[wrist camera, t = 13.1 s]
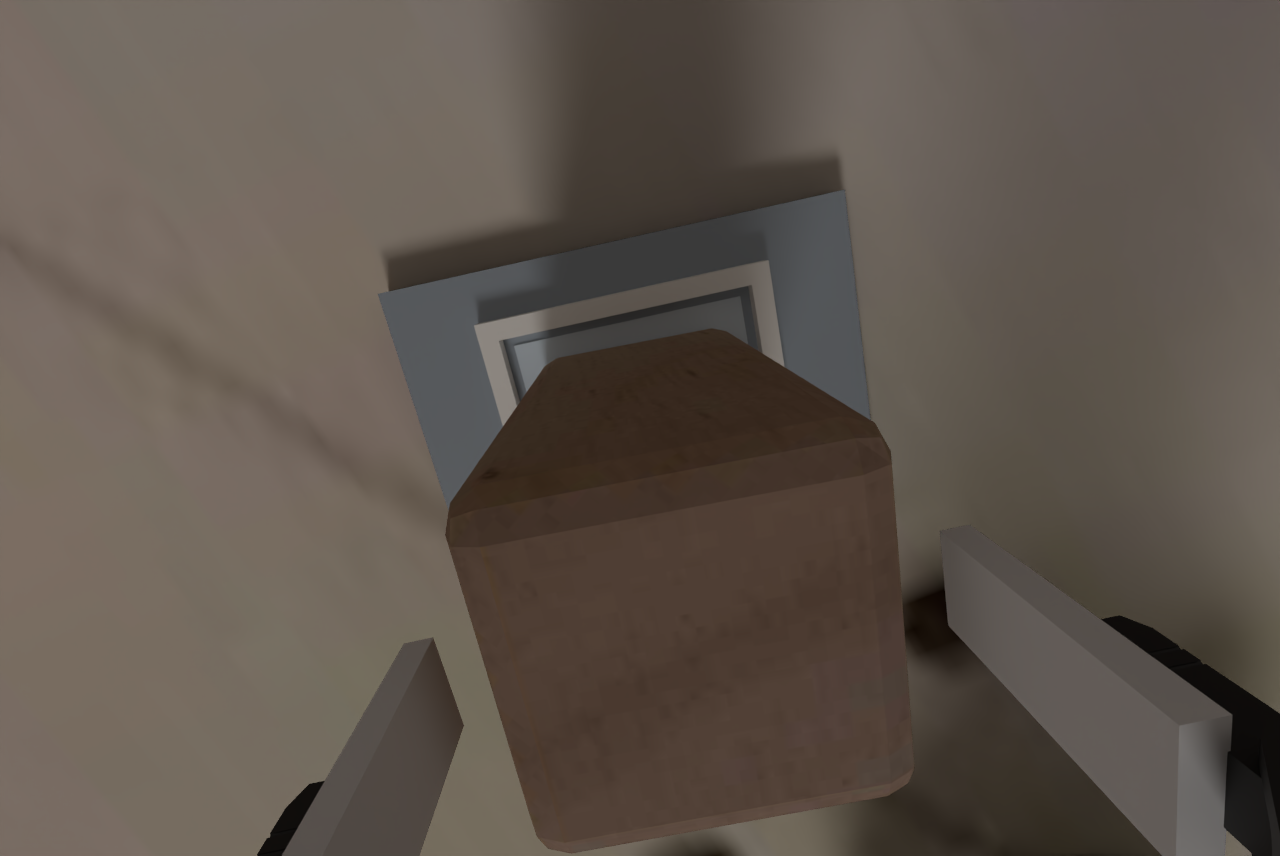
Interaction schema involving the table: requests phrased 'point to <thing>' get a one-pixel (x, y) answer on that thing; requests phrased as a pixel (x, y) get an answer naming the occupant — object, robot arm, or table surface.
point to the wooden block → (686, 593)
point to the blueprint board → (629, 315)
